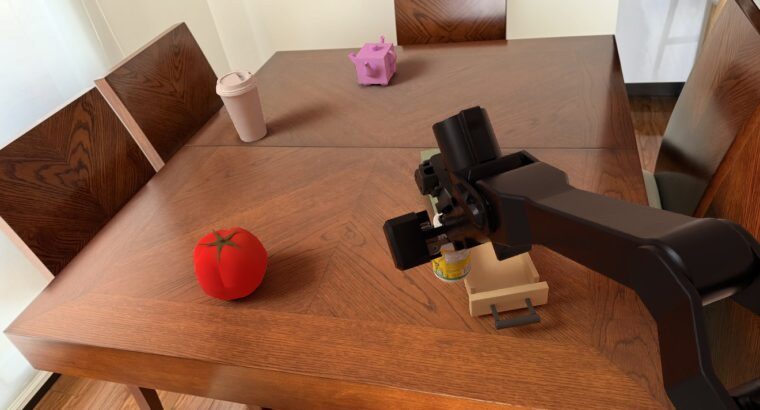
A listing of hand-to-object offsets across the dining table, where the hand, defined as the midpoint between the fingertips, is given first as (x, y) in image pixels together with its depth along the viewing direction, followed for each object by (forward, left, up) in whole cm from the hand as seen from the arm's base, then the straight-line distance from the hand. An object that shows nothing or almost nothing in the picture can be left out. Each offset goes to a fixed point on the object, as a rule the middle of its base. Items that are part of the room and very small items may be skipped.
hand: (446, 229), depth 68 cm
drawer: (-3, -7, -12) cm, 15 cm away
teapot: (+67, -39, -13) cm, 79 cm away
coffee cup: (+69, -2, -13) cm, 70 cm away
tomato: (+26, +23, -13) cm, 37 cm away
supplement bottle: (-1, +1, -7) cm, 7 cm away
